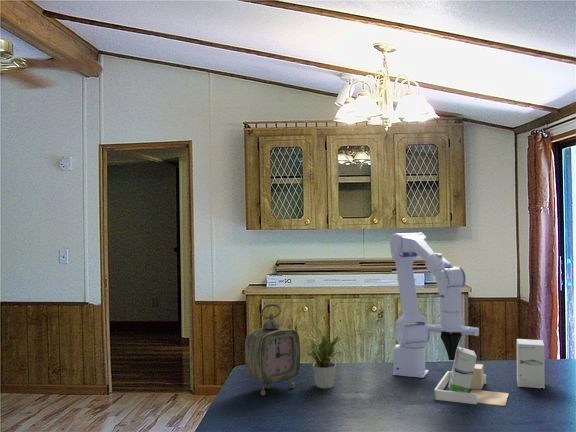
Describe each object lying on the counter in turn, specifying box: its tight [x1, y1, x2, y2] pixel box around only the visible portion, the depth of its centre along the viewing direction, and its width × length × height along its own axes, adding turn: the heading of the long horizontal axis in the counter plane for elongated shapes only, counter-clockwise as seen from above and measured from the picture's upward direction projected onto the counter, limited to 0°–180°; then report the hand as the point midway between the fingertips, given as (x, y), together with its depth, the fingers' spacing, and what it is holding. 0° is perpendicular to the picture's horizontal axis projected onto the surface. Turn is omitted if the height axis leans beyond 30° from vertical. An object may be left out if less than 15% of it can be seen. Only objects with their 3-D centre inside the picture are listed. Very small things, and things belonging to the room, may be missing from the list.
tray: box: [433, 370, 487, 405], centre depth 172 cm, size 11×20×3 cm, turn 155°
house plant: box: [304, 330, 348, 389], centre depth 178 cm, size 14×14×16 cm
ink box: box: [448, 346, 478, 393], centre depth 169 cm, size 9×5×12 cm, turn 168°
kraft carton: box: [469, 363, 485, 391], centre depth 176 cm, size 5×5×6 cm
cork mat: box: [469, 389, 510, 407], centre depth 165 cm, size 10×11×1 cm
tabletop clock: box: [244, 303, 301, 397], centre depth 176 cm, size 14×9×25 cm, turn 130°
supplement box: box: [516, 338, 546, 390], centre depth 177 cm, size 7×7×13 cm
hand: (451, 359), depth 169 cm, fingers closed
